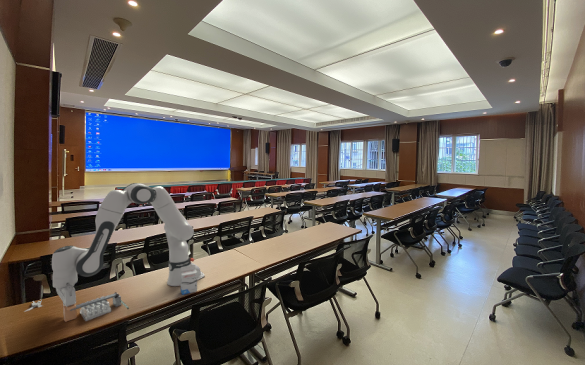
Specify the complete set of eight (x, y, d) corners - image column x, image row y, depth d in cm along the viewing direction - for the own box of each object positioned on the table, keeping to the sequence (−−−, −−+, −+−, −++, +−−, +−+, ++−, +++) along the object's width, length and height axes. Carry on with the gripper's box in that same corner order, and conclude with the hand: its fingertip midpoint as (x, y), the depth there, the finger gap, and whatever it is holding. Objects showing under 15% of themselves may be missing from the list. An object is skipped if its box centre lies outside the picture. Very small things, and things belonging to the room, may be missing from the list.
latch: (74, 315, 120) (74, 300, 120) (78, 320, 117) (77, 305, 116) (63, 319, 117) (63, 304, 117) (66, 324, 114) (66, 308, 113)
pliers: (17, 317, 118) (23, 303, 130) (18, 320, 118) (23, 306, 130) (47, 309, 125) (49, 297, 136) (47, 312, 125) (49, 300, 136)
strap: (116, 294, 131) (116, 291, 131) (119, 296, 129) (119, 294, 129) (68, 309, 116) (68, 306, 116) (70, 311, 114) (70, 309, 114)
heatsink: (116, 300, 134) (116, 291, 134) (123, 307, 128) (122, 298, 128) (80, 313, 122) (79, 303, 122) (85, 321, 116) (85, 311, 116)
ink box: (182, 295, 142) (181, 270, 141) (180, 291, 146) (180, 267, 145) (197, 291, 147) (197, 267, 146) (195, 287, 151) (195, 264, 150)
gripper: (79, 284, 117) (80, 312, 117) (68, 272, 129) (70, 298, 130) (61, 289, 112) (63, 319, 112) (52, 276, 124) (53, 303, 125)
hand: (66, 307), depth 121 cm, fingers closed
